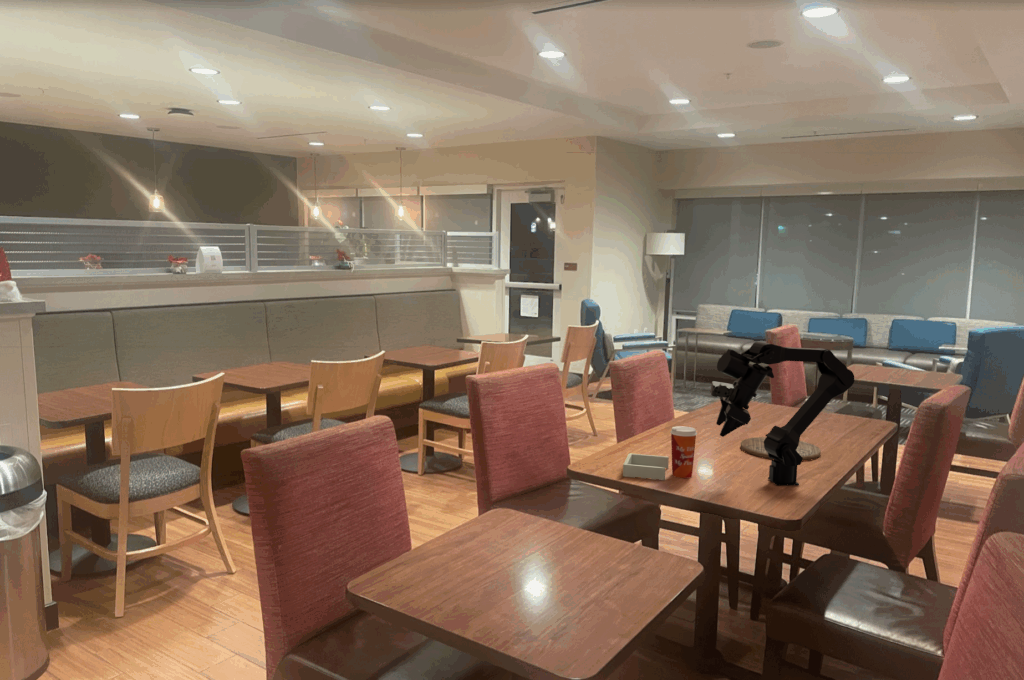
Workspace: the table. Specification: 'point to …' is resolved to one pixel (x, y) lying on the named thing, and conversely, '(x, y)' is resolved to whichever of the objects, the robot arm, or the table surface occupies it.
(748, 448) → the trivet
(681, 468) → the paper cup
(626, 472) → the tray
